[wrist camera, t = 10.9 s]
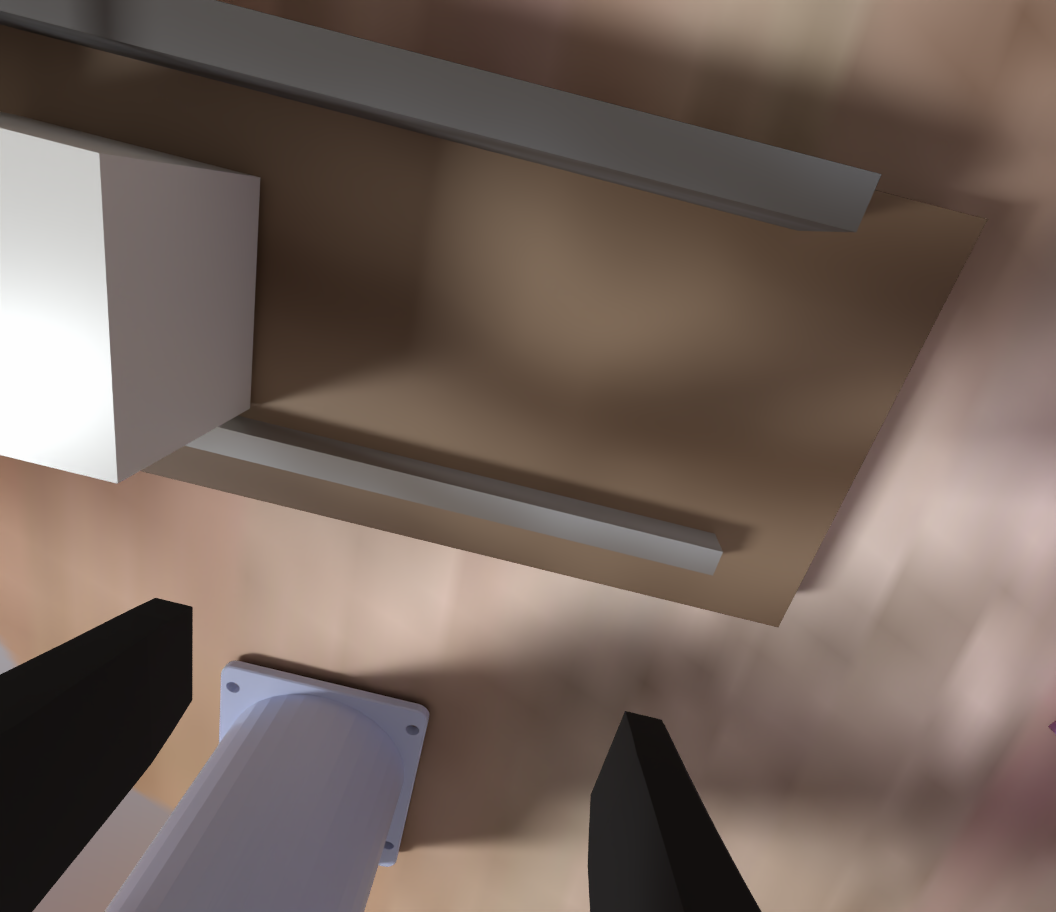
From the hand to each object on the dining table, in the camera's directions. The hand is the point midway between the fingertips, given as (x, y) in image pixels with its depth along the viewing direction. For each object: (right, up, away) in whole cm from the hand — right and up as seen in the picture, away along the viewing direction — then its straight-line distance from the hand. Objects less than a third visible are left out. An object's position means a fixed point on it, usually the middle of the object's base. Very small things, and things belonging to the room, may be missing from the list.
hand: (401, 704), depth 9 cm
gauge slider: (-8, +10, +5) cm, 14 cm away
